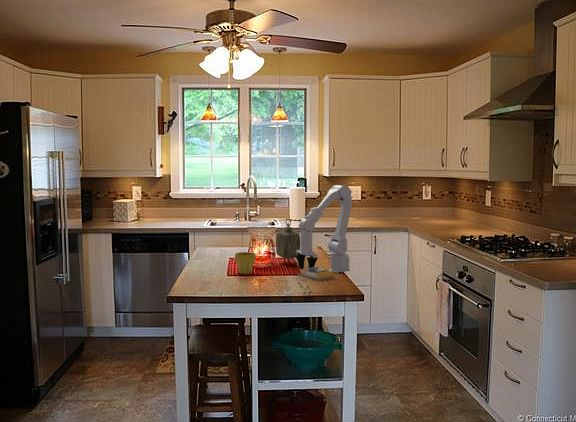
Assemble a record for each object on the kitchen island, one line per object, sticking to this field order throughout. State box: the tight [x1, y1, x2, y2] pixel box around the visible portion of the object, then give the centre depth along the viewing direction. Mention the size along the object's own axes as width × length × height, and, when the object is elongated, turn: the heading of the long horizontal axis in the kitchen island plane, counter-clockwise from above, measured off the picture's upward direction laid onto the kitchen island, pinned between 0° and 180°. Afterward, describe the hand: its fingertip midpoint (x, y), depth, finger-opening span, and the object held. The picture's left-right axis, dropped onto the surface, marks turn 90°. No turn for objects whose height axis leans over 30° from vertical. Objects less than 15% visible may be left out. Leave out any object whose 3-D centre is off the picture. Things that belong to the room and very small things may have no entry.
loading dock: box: [297, 271, 335, 281], centre depth 263 cm, size 10×16×4 cm, turn 37°
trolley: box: [306, 265, 329, 274], centre depth 261 cm, size 6×9×4 cm
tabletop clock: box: [275, 218, 301, 266], centre depth 296 cm, size 14×9×25 cm, turn 22°
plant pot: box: [234, 251, 257, 275], centre depth 271 cm, size 10×10×10 cm
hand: (306, 270), depth 268 cm, fingers open, 7 cm apart
